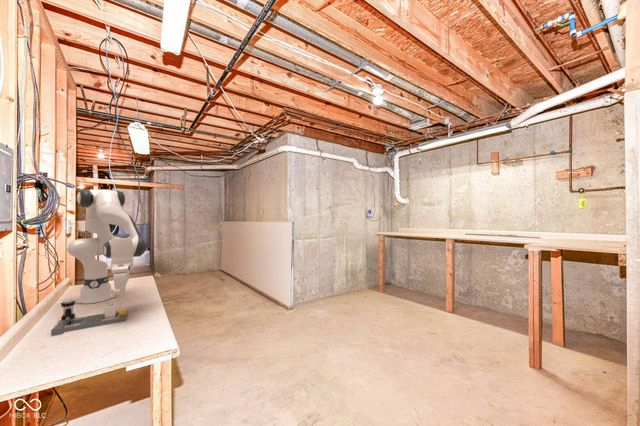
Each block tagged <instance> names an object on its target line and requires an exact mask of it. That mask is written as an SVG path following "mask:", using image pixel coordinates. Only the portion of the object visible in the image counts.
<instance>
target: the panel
mask: <svg viewBox="0 0 640 426" xmlns="http://www.w3.org/2000/svg"><path fill="white" fill-rule="evenodd" d="M119 311H120V310H118V311H117V310H116V317H112V318H106V319H105V313H99V314H94V315H88V316H87V315H86V316H80V317H75V318H74V319H68V320H62V321H58V323H56V324H55V326H53V328H52V329H51V331H50V337H54V336H60V335H64V334H65V333H67V332H72V331H78V330H79V331H80V330H83V329H89V328H94V327H100V326H106V325H111V324H112V325H113V324H116V323H117V324H118V323H122V322H126V320H127V319H128V315H129V309H126V314H125V315H119Z"/></svg>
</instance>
